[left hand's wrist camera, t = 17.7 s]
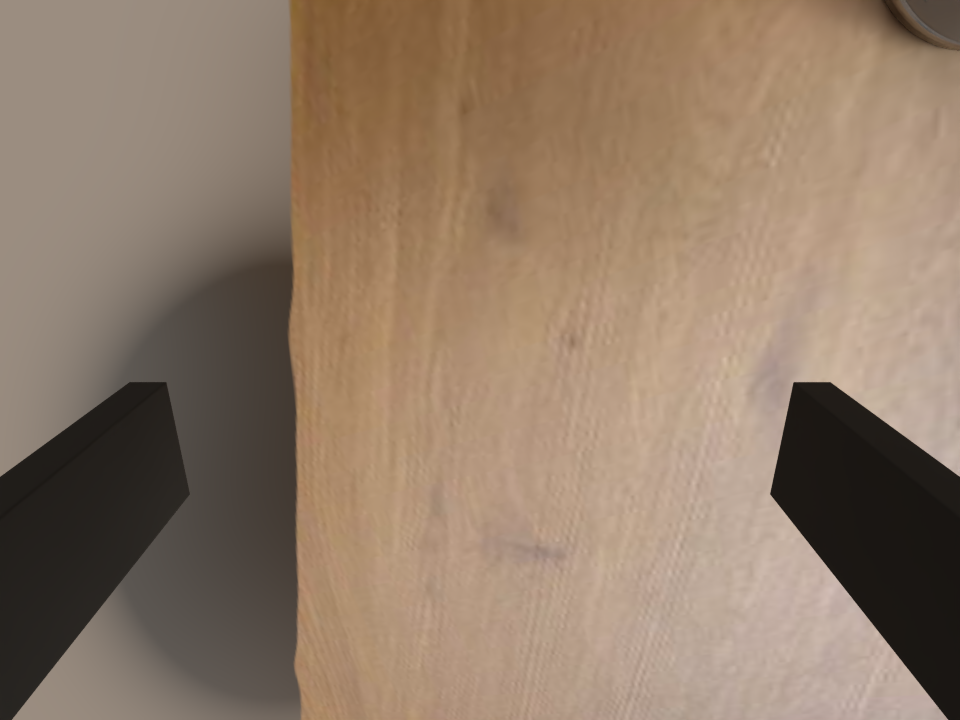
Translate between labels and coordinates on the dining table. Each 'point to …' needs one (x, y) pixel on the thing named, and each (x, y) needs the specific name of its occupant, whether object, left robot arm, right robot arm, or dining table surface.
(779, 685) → the dining table surface
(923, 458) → the left robot arm
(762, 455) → the dining table surface
